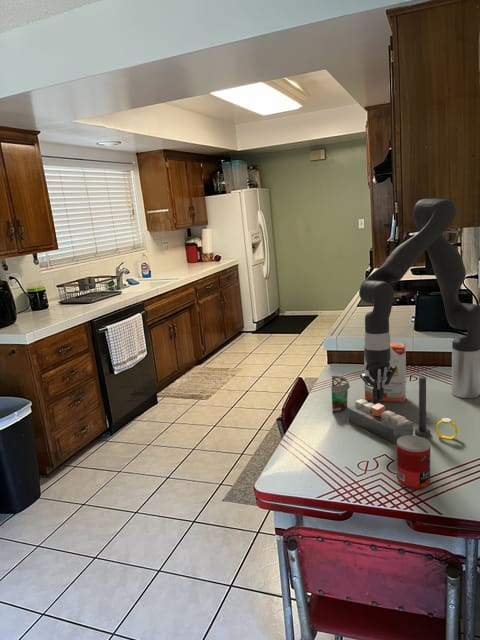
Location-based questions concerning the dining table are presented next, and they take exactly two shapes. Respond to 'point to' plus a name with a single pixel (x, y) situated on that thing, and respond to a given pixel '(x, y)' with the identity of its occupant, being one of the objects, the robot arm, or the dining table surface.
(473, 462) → the dining table surface
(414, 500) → the dining table surface
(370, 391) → the cracker box
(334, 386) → the food container
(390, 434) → the breaker strip
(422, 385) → the stand
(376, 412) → the breaker paddle
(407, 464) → the canned food
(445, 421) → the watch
